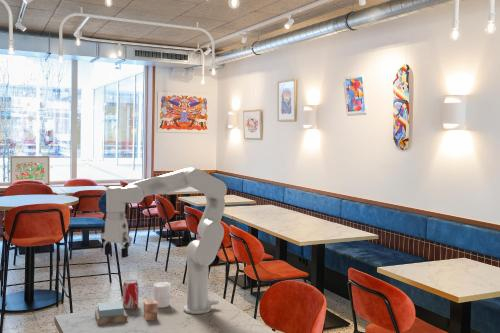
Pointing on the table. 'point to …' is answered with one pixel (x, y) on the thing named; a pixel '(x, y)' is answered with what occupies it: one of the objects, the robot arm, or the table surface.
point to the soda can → (130, 294)
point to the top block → (110, 309)
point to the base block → (110, 318)
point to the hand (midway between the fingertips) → (116, 255)
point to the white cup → (162, 293)
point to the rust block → (150, 310)
